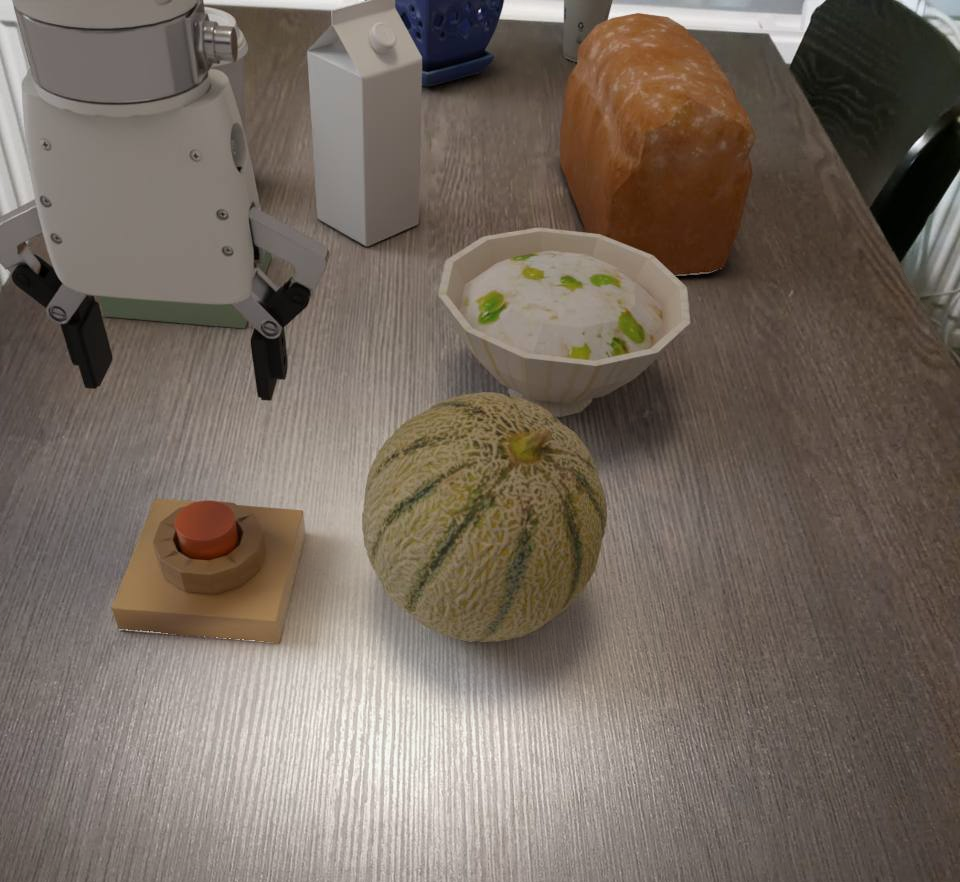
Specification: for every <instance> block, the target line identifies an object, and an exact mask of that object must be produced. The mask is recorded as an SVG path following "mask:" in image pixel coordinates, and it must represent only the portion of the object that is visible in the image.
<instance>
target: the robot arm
mask: <svg viewBox="0 0 960 882" xmlns="http://www.w3.org/2000/svg"><path fill="white" fill-rule="evenodd" d="M11 1H12V5H13V10H14V13H15V18H16V21H17V25H18V28H19V32H20V36H21V40H22V43H23V46H24V51H25V54H26V58H27V61H28V65H29V69H28V70H27V72H26V74H25V76H24V78H23V79H22V81H21V98H22V99H21V103H22V116H23V117H22V118H23V127H24V128H23V129H24V136H25V145H26V153H27V160H28V167H29V174H30V180H31V184H32V190H33V195H34V199H32V200H30V201H28V202H27V203H24V204H23V205H21V206H19V207H17V208H15V209H13V210H11V211H9V212H7V213H5V214H3V215H0V265H1V267H3V269H4V270H7V271H8V272H9V273H10V274H11V279H12V282H13V284H14V285H15V286H16V287H17V288H19V289H20V290H21V291H23V292H24V293H25V294H27V295H28V296H29V297H30V298H32V300H35V302H36V303H38V304H40V305H41V306H43V308H45V314H46V316H47V318H48V319H49V320H50V321H51V322H53V323H55V324H57V325H60V329H61V331H62V336H63V338H64V341H65V344H66V348H67V352H68V354H69V358H70V361H71V364H72V365H73V366H76V367H77V366H78V370H79V372H80V376H81V378H82V379H81V380H82V382H83V385H84V388H86V389H92V390H97V388H98V387H101V385H102V383H103V381H104V379H105V377H106V375H107V372H108V370H109V369H110V366H111V365H112V362H113V353H112V349H111V345H110V341H109V337H108V333H107V330H106V325H105V322H104V319H103V313H102V309H101V308H100V307H101V306H100V302H98V301H96V298H95V297H99V296H103V297H115V298H127V299H140V300H154V301H169V302H184V303H199V304H231V305H232V306H233V307H234V308H235V309H236V310H237V311H238V312H239V313H240V314H241V315H242V316H243V317H244V318H245V319H246V320H247V321H248V324H250V325H251V326H252V328H253V331H252V333H251V336H250V350H251V358H252V364H253V365H252V366H253V373H254V379H255V387H256V388H255V389H256V394H257V398H260V400H261V401H267V402H268V401H269V402H271V401H272V400H273V396H274V393H275V390H276V386H277V383H278V382H277V381H278V380H281V381H285V380H286V378H287V374H288V367H289V364H288V363H289V362H288V349H287V342H286V341H287V340H286V331H285V327H286V326H288V325H289V323H291V322H292V321H293V320H294V319H295V318H296V317H297V316H299V314H301V313H302V312H303V311H304V310H306V308H307V307H308V306H309V303H310V301H311V298H312V297H313V295H314V293H315V291H316V289H317V288H318V285H319V283H320V282H321V279H322V277H323V276H324V273H325V271H326V270H327V265H328V262H329V258H330V250H329V248H328V246H326V245H325V244H323V243H322V242H320V241H318V240H316V239H315V238H313V237H311V236H309V235H307V234H305V233H303V232H301V231H300V230H298V229H296V228H294V227H293V226H290V225H289V224H288V223H285V222H283V221H281V220H280V219H278V218H276V217H274V216H272V215H270V214H269V213H267V212H265V211H263V210H262V209H261V204H260V198H259V193H258V187H257V183H256V177H255V174H254V169H253V164H252V159H251V155H250V150H249V146H248V142H247V141H248V140H247V136H246V132H245V133H244V129H243V125H242V121H241V117H240V114H239V110H238V107H237V104H236V101H235V97H234V94H233V91H232V88H231V85H230V83H229V80H228V77H227V76H226V75H225V74H224V73H223V72H222V71H220V70H216V69H210V68H211V66H212V65H213V64H220V62H221V61H229V62H236V61H237V57H238V41H237V34H236V30H235V28H234V27H233V26H220V25H218V23H217V22H216V21H210V20H209V17H208V13H205V9H204V7H205V3H204V0H11ZM245 136H246V137H245ZM39 235H42V236H43V239H44V243H45V247H46V251H47V253H48V256H49V260H50V263H51V264H49V263H48V262H47V261H45V260H44V259H43V258H42V257H40V256H39V255H37V254H34V253H32V249H31V247H30V246H29V245H28V243H27V241H30V240H32V239H33V238H36V237H38V236H39ZM265 251H267V252H268V253H270V254H271V256H274V257H276V258H277V259H280V260H282V261H283V262H285V263H287V264H288V265H290V266H292V268H293V269H294V273H293V275H292V276H291V277H290V278H289V279H288V280H287V281H285V282H284V283H283V285H281V286H280V287H278V286H277V285H276V284H275V283H274V281H272V279H271V278H270V277H269V276H268V275H267V273H266V274H265V273H264V272H263V271H262V270H261V269H260V268H259V267H258V266H257V265H256V264H263V261H264V256H265Z"/></svg>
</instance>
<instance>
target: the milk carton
mask: <svg viewBox="0 0 960 882" xmlns="http://www.w3.org/2000/svg"><path fill="white" fill-rule="evenodd" d="M330 19H331V21H330V22H331V25H330V26H329V27H327V29H326V30H325V31H324V32H323V33H322V34H321V35H320V37H318V39H316V41H315V42H314V43H313V44H312V45H311V46H310V47H309V48H308V50H307V51H306V55H307V71H308V88H309V89H308V90H309V103H310V104H309V105H310V120H311V122H310V123H311V135H312V136H311V138H312V152H313V153H312V156H313V170H314V171H313V172H314V187H315V202H316V203H315V204H316V218H317V219H318V220H319V221H321V222H323V223H324V224H326V225H327V226H330V227H332V228H333V229H335V230H336V231H338V232H340V233H341V234H343V235H345V236H347V237H349V238H351V239H352V240H354V241H355V242H358V243H359V244H361V245H363V246H364V247H370V246H372V245H375V244H377V243H379V242H381V241H383V240H386V239H389V238H390V237H393V236H396V235H397V234H400V233H402V232H403V231H407V230H408V229H411V228H413V227H415V226H418V225H419V221H420V192H421V191H420V189H421V187H420V185H421V184H420V183H421V182H420V181H421V143H422V141H421V139H422V137H421V135H422V134H421V133H422V92H423V90H422V88H423V85H422V56H421V54H420V52H419V51H418V49H417V47H416V45H415V43H414V41H413V40H412V38H411V36H410V34H409V32H408V30H407V29H406V27H405V25H404V23H403V21H402V19H401V17H400V16H399V14H398V12H397V10H396V8H395V0H366V1H365V0H362V1H359V2H356V3H352V4H347V5H344V6H341V7H336V8H332V9H331V10H330Z"/></svg>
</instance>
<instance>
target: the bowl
mask: <svg viewBox="0 0 960 882" xmlns="http://www.w3.org/2000/svg"><path fill="white" fill-rule="evenodd" d="M443 266H444V267H443V271H442V274H441V280H440V283H439V288H438V293H437V296H438V298H439V300H440V303H441V304H442V306H443V308H444V310H445V312H446V314H447V316H448V318H449V321H450V322H451V324H452V326H453V328H454V331H455V332H456V333H457V335H458V336H459V337H460V338H461V340H462V341H463V342H464V343H465V344H466V346H467V348H468V350H469V351H470V352H471V353H472V354H473V355H474V357H475V358H476V360H477V361H478V362H479V363H480V364H481V365H482V366H483V367H484V368H485V369H486V370H487V371H488V373H489V374H490V375H491V376H492V377H493V378H494V379H495V380H496V381H497V382H498V383H499V384H500V385H502V386H504V387H506V388H507V393H508V394H509V396H513V397H516V398H520V399H525V400H527V401H529V402H531V403H534V404H536V405H539V406H541V407H543V408H544V409H546V410H548V411H549V412H550V413H551V414H552V415H553V416H554V417H555V418H562V417H567V416H571V415H575V414H578V413H581V412H583V410H585V409H586V408H587V407H588V406H589V405H590V404H591V403H593V399H598V398H600V397H605V396H608V395H609V394H611V393H612V392H614V391H616V390H618V389H619V388H621V387H623V386H625V385H626V384H629V383H630V382H631V381H633V380H636V379H637V378H638V376H640V375H641V374H642V373H643V372H644V371H645V370H646V369H648V368H649V366H651V365H652V364H653V363H654V362H655V361H656V360H657V359H658V358H660V356H661V355H663V354H664V352H665V351H667V349H668V348H669V347H670V346H671V345H672V344H673V343H674V342H675V340H676V339H678V337H679V336H680V335H681V334H682V333H683V332H684V331H685V330H686V329H687V327H688V326H689V325H690V324H691V316H690V315H691V314H690V304H689V291H688V287H687V285H685V284H684V282H682V281H681V280H680V279H679V277H676V276H675V275H673V274H672V273H671V272H670V271H669V270H668V269H667V268H666V267H665V266H664V265H663V264H662V263H661V262H660V261H659V260H658V259H657V258H655V257H654V256H653V255H651V254H648V253H646V252H643V251H641V250H638V249H636V248H633V247H631V246H628V245H626V244H623V243H621V242H618V241H616V240H613V239H610V238H608V237H605V236H603V235H600V234H593V233H585V231H575V230H565V229H555V228H547V227H540V226H539V227H538V226H537V227H534V228H527V229H526V228H525V229H521V230H520V229H519V230H514V231H510V232H509V231H508V232H502V233H495V234H489V235H485V236H482V237H480V238H478V239H477V240H475V241H473V242H472V243H470V244H469V245H468V246H466V247H464V248H463V249H461V250H460V251H458V252H456V253H455V254H453V255H452V256H449V258H447V259H445V262H444V265H443Z"/></svg>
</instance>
